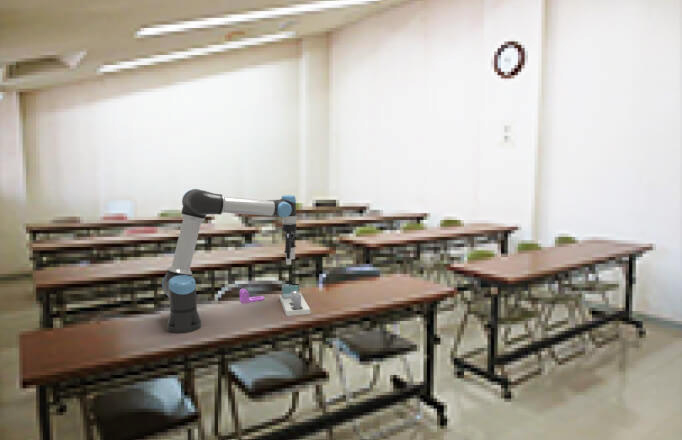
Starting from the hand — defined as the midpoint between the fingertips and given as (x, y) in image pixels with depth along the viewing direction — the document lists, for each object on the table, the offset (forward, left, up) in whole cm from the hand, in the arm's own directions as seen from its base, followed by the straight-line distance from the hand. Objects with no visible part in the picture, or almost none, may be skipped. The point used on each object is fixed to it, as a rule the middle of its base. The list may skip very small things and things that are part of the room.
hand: (290, 261), depth 259 cm
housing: (0, -12, -21) cm, 25 cm away
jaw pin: (0, -16, -21) cm, 27 cm away
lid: (0, -2, -19) cm, 19 cm away
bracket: (-21, +4, -22) cm, 30 cm away
